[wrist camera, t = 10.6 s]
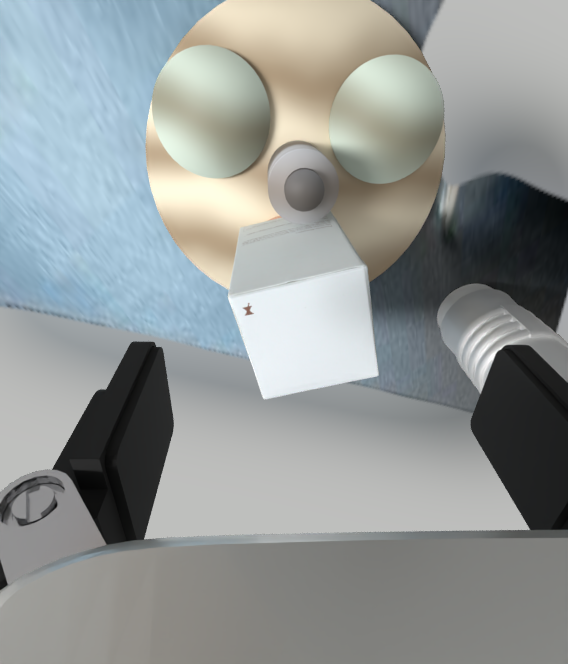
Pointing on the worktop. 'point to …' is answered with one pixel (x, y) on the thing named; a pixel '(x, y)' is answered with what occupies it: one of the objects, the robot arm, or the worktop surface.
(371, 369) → the supplement box
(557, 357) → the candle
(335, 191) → the carrier
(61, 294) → the worktop surface
